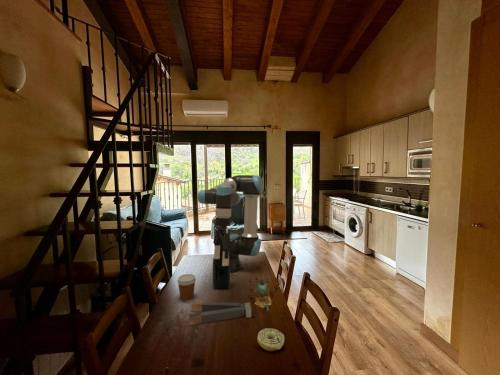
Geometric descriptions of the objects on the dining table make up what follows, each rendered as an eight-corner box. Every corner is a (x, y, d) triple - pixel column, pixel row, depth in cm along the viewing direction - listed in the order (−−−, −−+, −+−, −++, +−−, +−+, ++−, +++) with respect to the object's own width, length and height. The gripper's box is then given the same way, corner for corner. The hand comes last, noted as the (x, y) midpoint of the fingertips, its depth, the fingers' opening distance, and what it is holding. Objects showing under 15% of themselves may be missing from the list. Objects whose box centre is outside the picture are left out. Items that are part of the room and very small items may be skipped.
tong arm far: (193, 308, 118) (193, 301, 118) (244, 310, 117) (244, 303, 117) (191, 311, 116) (191, 304, 116) (244, 313, 115) (244, 305, 114)
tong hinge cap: (244, 309, 118) (244, 302, 118) (249, 309, 118) (249, 302, 118) (246, 318, 111) (246, 310, 111) (251, 318, 112) (251, 310, 111)
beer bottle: (228, 281, 149) (228, 228, 146) (231, 290, 139) (231, 233, 136) (211, 283, 146) (211, 229, 143) (213, 292, 136) (213, 234, 133)
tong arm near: (189, 321, 108) (189, 314, 108) (244, 313, 115) (244, 306, 114) (189, 325, 106) (189, 317, 106) (245, 316, 112) (245, 308, 112)
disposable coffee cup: (174, 299, 128) (173, 277, 127) (189, 293, 135) (189, 272, 134) (184, 306, 122) (183, 283, 121) (199, 299, 129) (199, 277, 128)
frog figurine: (253, 314, 116) (253, 283, 116) (252, 298, 134) (252, 271, 134) (273, 314, 116) (273, 283, 117) (269, 298, 134) (269, 271, 134)
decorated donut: (284, 355, 91) (284, 345, 91) (256, 352, 92) (256, 342, 92) (284, 335, 102) (284, 327, 101) (258, 333, 103) (258, 325, 102)
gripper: (208, 215, 128) (206, 256, 126) (223, 219, 105) (221, 269, 104) (222, 215, 131) (220, 255, 129) (239, 219, 108) (237, 268, 107)
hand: (220, 262), depth 116 cm, fingers open, 13 cm apart
